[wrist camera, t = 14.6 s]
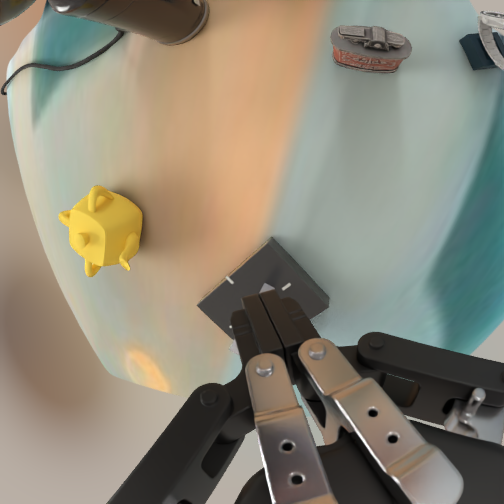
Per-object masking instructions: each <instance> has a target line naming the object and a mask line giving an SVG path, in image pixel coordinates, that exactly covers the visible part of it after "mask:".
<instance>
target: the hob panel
mask: <svg viewBox="0 0 504 504" xmlns="http://www.w3.org/2000/svg"><path fill="white" fill-rule="evenodd" d="M264 283H266V284H268V285H270V286H272V287H274V288H275V290H276V292H277V293H278V295H279V297H280V299H282V298H286V297H290V298H292V299H294V300H295V301H297V302H298V303H299V305H300V306H301V308H302V310H303V311H304V312H305V314H306V316H307V317H308V319H309V320H310V319H311V318H313V317H315V316H316V315H318V314H319V313H321V312H322V311H324V310H325V309H327V308H328V307H329V297H328V296H327V295H326V294H325V293H324V291H323V290H322V289H321V288H320V287H319V286H318V285H317V284H316V283H315V282H314V281H313V280H312V279H311V277H310V276H309V275H308V274H307V273H306V272H305V271H304V270H303V269H302V268H301V267H300V266H299V265H298V264H297V263H296V261H295V260H294V259H293V258H292V257H291V256H290V255H289V254H288V253H287V252H286V251H285V250H284V249H283V248H282V247H281V246H280V245H279V244H278V243H277V241H276V240H275V239H274V238H273V237H271V238H270V239H269V240H267V241H266V242H265V243H264V244H263V245H262V246H261V247H259V248H258V249H257V250H256V251H255V252H254V253H253V254H252V255H250V256H249V257H248V258H247V259H246V260H245V261H244V262H243V263H241V264H240V265H239V266H238V267H237V268H236V269H235V270H233V271H232V272H231V273H230V274H229V275H228V276H226V277H225V278H224V279H223V280H222V281H221V282H220V283H219V284H218V285H216V286H215V287H214V288H213V289H212V290H211V291H210V292H209V293H207V294H206V295H205V296H204V297H203V298H202V299H201V300H200V302H199V303H198V304H197V306H198V307H199V308H200V309H201V310H202V311H203V312H204V313H205V314H206V315H207V316H208V317H209V318H210V319H211V320H212V321H213V322H214V323H215V324H217V325H218V326H219V327H220V328H221V329H222V330H223V331H224V332H225V333H226V334H227V335H228V336H229V337H230V338H232V339H233V340H234V339H235V338H234V334H233V330H232V326H231V322H230V319H231V315H232V312H233V311H237V310H241V309H243V305H242V300H241V298H242V297H246V296H249V295H253V294H258V293H259V292H260V290H261V289H262V287H263V285H264Z"/></svg>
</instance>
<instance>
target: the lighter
mask: <svg viewBox="0 0 504 504" xmlns="http://www.w3.org/2000/svg"><path fill="white" fill-rule="evenodd" d="M331 42H332V44H333V49H334V50H333V54H332V55H333V60H334V62H335V63H336V64H337V65H339V66H342V67H345V68H349V69H353V70H358V71H363V72H372V73H393V72H395V71H396V70H397V69H398V67H399V64H400V63H401V62H402V61H403V60H404V59H406V58H408V57H409V56H410V54H411V51H412V47H411V44H410V42H409V40H408V39H407V38H406V37H404V36H403V35H402V34H399V33H394V32H391V31H388V30H386V29H384V28H382V27H377V26H373V27H366V26H343V25H342V26H339V27H337V28H335V29H334V30H333V31H332V33H331Z"/></svg>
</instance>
